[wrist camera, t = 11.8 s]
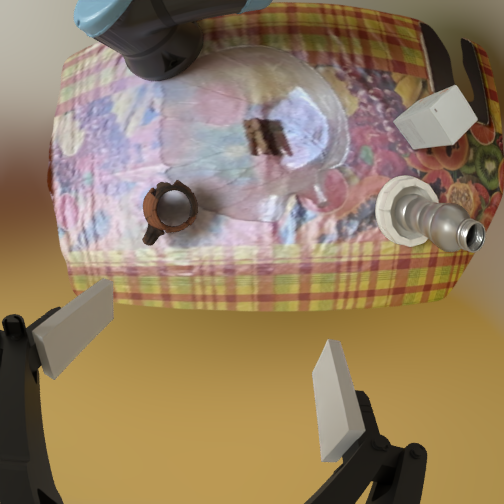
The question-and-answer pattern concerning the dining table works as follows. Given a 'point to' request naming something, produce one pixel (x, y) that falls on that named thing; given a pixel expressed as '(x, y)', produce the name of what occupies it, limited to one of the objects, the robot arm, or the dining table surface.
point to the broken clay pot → (150, 211)
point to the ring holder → (388, 203)
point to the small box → (436, 119)
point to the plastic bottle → (440, 223)
